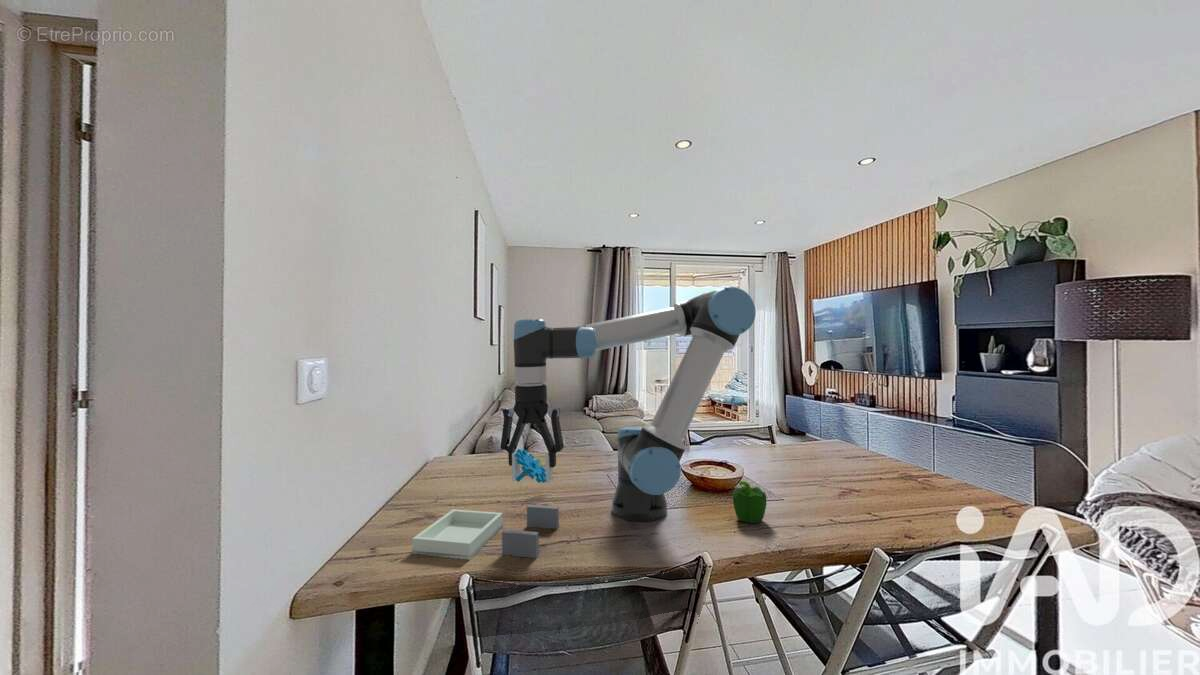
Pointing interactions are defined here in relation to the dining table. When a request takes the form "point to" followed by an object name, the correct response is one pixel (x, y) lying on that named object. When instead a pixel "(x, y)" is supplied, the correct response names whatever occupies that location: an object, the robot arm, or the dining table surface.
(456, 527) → the parts tray
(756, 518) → the bell pepper
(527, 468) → the gear
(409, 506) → the dining table surface
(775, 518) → the dining table surface
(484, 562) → the dining table surface
